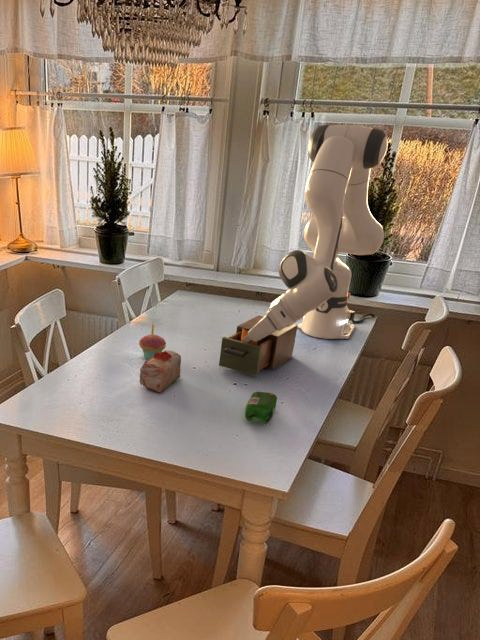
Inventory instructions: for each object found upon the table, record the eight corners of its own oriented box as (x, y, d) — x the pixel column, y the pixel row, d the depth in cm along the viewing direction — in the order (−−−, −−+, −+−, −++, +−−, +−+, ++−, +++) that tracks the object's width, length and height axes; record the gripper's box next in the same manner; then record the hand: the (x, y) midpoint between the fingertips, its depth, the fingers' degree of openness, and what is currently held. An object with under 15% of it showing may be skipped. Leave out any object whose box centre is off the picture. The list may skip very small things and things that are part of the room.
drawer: (249, 380, 192) (253, 351, 188) (212, 369, 199) (215, 341, 194) (275, 363, 205) (280, 336, 200) (239, 353, 211) (243, 326, 206)
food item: (161, 395, 183) (164, 362, 178) (136, 389, 186) (138, 356, 181) (182, 379, 193) (185, 347, 188) (158, 373, 196) (160, 342, 191)
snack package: (240, 426, 169) (243, 408, 166) (251, 402, 181) (254, 385, 178) (268, 432, 167) (271, 413, 164) (276, 407, 179) (280, 390, 176)
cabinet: (271, 370, 202) (277, 336, 197) (232, 358, 209) (237, 326, 204) (291, 357, 213) (297, 324, 207) (253, 346, 219) (258, 315, 214)
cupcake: (162, 363, 203) (165, 326, 197) (135, 360, 205) (137, 323, 198) (166, 354, 211) (169, 317, 204) (140, 351, 212) (142, 314, 206)
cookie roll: (244, 347, 203) (247, 323, 199) (258, 351, 200) (262, 326, 196) (236, 351, 199) (240, 326, 195) (251, 355, 197) (255, 330, 193)
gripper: (288, 293, 197) (251, 319, 205) (269, 311, 181) (230, 338, 190) (300, 311, 197) (263, 336, 206) (282, 329, 182) (243, 356, 190)
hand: (247, 337), depth 198 cm, fingers closed on cookie roll, 5 cm apart
